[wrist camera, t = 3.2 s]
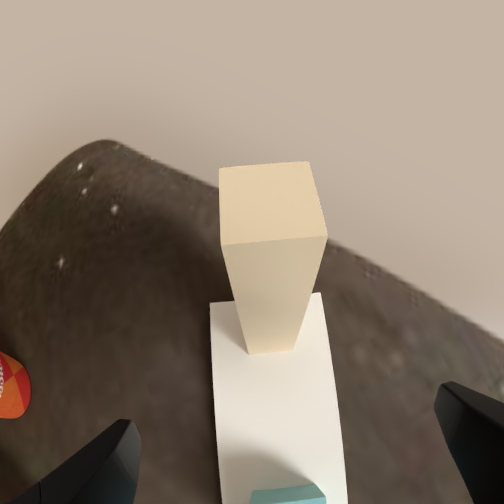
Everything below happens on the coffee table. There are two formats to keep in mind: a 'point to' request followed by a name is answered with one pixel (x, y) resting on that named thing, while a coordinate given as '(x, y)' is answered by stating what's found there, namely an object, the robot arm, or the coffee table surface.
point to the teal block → (289, 495)
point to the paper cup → (13, 388)
